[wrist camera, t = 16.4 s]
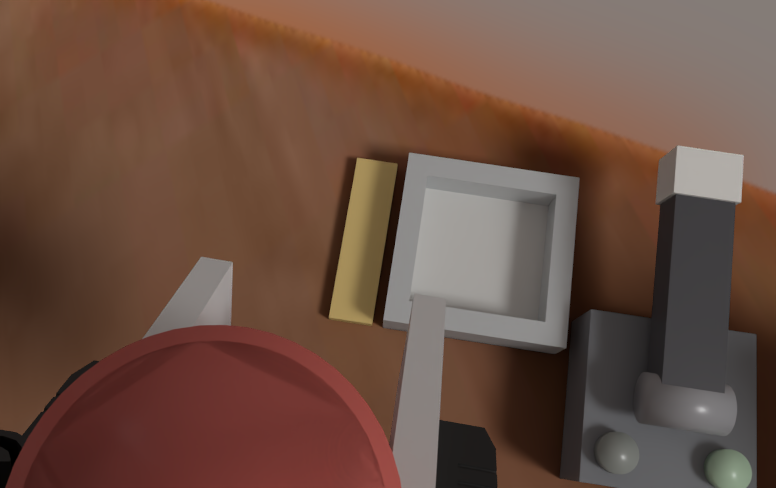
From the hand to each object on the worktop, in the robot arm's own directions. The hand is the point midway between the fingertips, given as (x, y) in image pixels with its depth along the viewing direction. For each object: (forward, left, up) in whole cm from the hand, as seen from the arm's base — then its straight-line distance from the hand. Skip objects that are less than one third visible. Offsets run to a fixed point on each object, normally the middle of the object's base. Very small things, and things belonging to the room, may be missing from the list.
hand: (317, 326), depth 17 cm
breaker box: (+11, +8, -15) cm, 20 cm away
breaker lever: (+11, +8, -11) cm, 17 cm away
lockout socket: (0, +8, -15) cm, 17 cm away
